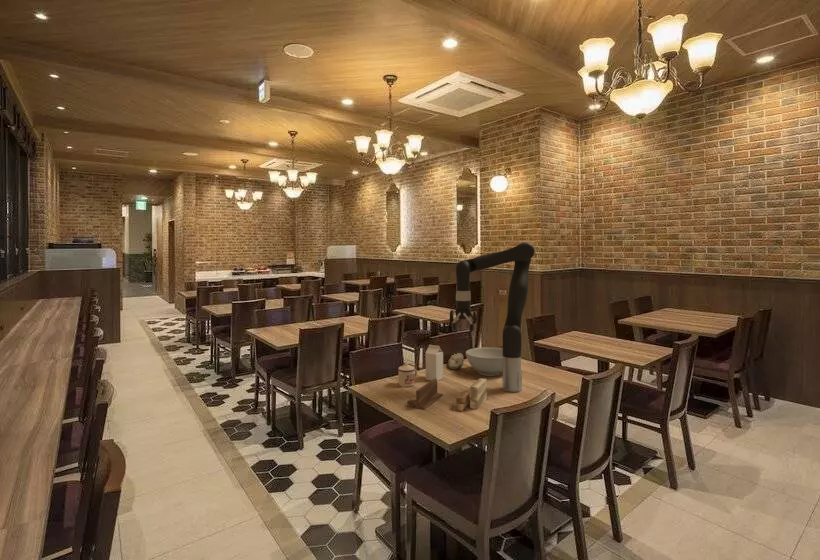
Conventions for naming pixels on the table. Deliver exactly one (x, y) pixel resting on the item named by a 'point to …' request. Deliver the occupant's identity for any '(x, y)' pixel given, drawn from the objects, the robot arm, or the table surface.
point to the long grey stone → (456, 361)
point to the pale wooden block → (478, 393)
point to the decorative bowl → (486, 360)
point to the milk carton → (434, 363)
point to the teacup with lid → (407, 375)
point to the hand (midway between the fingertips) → (463, 330)
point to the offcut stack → (462, 401)
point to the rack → (425, 396)
